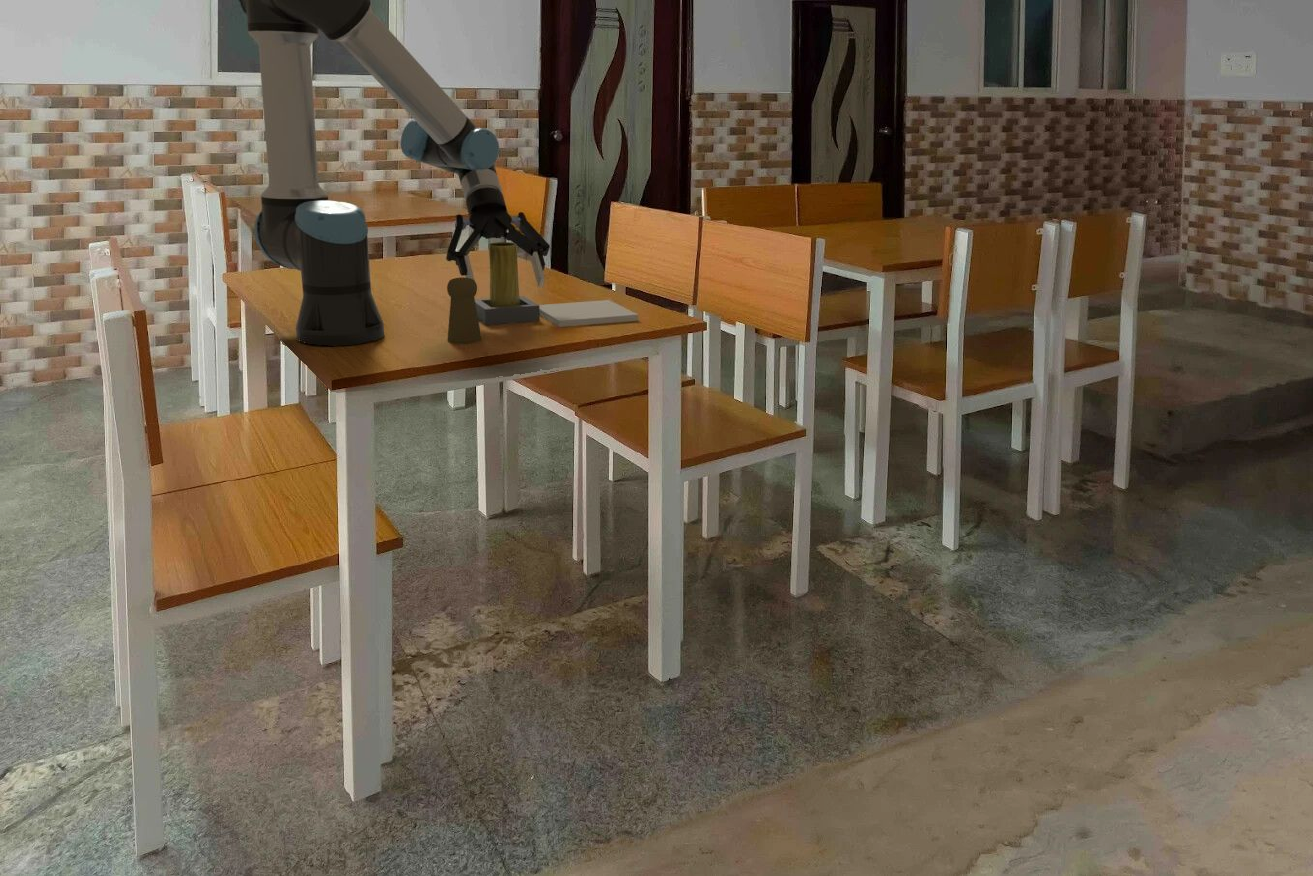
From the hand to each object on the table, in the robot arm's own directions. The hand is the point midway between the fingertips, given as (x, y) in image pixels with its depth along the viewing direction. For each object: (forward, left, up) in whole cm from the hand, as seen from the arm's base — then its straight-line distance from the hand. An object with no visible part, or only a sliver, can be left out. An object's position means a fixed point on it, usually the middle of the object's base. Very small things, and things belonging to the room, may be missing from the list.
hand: (507, 285), depth 212 cm
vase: (0, +2, -7) cm, 7 cm away
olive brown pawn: (-12, -14, -7) cm, 19 cm away
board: (+15, -2, -7) cm, 16 cm away
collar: (0, +2, -7) cm, 7 cm away
